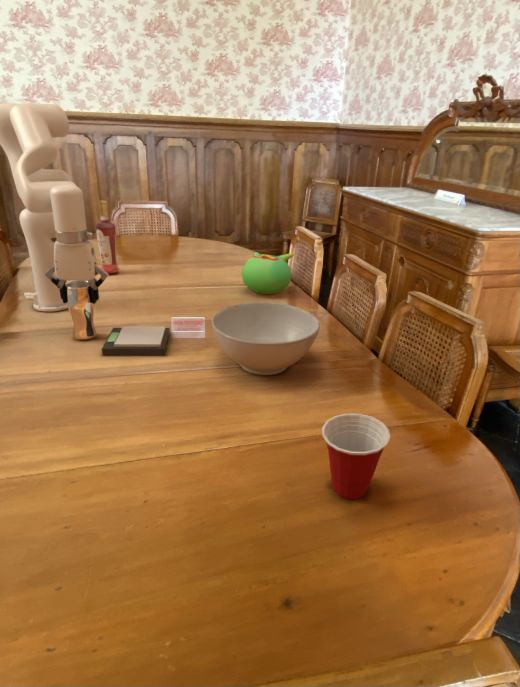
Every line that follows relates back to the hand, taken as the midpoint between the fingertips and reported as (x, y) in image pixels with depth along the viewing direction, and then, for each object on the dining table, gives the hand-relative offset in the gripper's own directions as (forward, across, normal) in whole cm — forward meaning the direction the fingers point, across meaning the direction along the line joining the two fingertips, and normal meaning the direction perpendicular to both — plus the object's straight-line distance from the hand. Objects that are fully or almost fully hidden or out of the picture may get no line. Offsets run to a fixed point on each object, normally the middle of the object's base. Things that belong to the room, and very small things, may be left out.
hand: (80, 301), depth 128 cm
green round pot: (+11, -55, -40) cm, 69 cm away
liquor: (+12, +7, -62) cm, 64 cm away
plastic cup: (+9, -60, +63) cm, 88 cm away
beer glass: (+10, 0, 0) cm, 10 cm away
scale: (+11, -15, +5) cm, 19 cm away
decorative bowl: (+10, -49, +17) cm, 53 cm away
